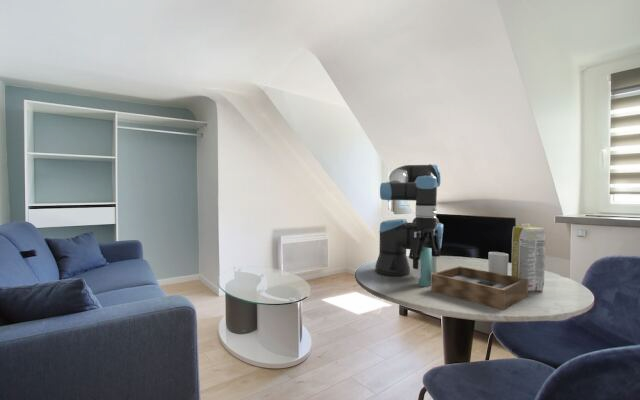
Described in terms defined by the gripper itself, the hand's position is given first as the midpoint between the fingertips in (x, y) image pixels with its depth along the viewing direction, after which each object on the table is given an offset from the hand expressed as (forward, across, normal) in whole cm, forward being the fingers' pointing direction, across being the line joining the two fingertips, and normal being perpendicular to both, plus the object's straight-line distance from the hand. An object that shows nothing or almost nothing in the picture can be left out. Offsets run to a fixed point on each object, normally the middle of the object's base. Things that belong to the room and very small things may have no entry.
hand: (424, 275), depth 121 cm
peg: (+4, 0, 0) cm, 4 cm away
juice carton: (+4, +26, -26) cm, 37 cm away
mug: (+4, +24, -16) cm, 29 cm away
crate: (+4, +6, -18) cm, 19 cm away
